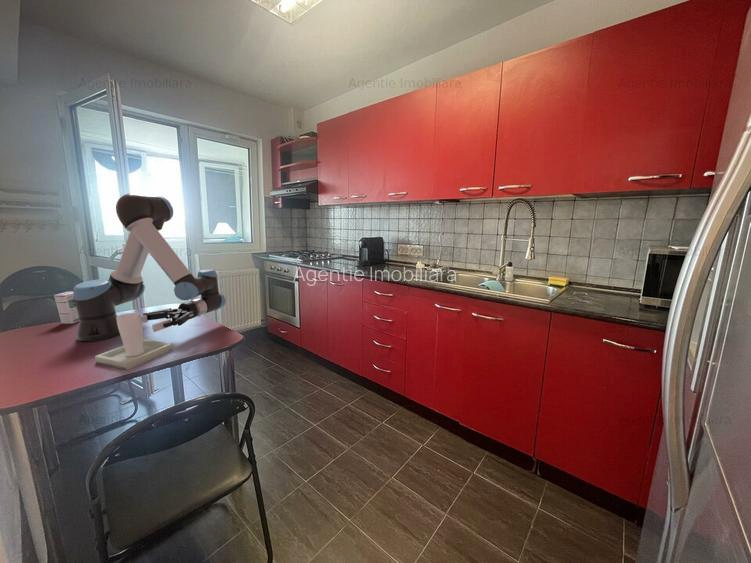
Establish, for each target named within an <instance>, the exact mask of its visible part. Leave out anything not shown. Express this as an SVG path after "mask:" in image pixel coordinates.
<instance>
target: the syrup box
mask: <svg viewBox="0 0 751 563" xmlns="http://www.w3.org/2000/svg"><path fill="white" fill-rule="evenodd" d="M73 295H74V294H73V291H65V292H62V293H58V294H54V301H55V304H56V307H57V310H58V315H59V318H60V322H61V324H62V325H63V324H65V325H66V324H67V325H69V324H70V325H71V324H75V323H79V322H80V321H79V316H78V312H77V308H76V304H75V300H74V298H73Z"/></svg>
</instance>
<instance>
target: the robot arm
mask: <svg viewBox="0 0 751 563" xmlns="http://www.w3.org/2000/svg"><path fill="white" fill-rule="evenodd" d="M118 198H119V199H118V200H117V201H116V205H115V212H116V215H117V217H118V220H119V221H120V224H122V226H123V227H124V228H125V229H126V231H127V232H129V234H128V236H127V237H128V238H127V240H126V242H125V246H124V248H123V251H122V253H121V256H120V260H119V263H118V265H117V269H114V270H113V271H111V272H110V275H109V278H108V279H104V278H101V279H100V278H98V279H92V280H86V281H83V282H80V283H78V284H76V285H75V286H74V287H73V288H72V292H73V294H74V295H73V298H74V300H75V304H76V308H77V312H78V316H79V321H78V327H77V332H76V337H77V338H76V339H77V341H79V342H82V341H87V342H96V341H102V340H106V339H110V338H114V337H116V336H118V335H119V336H120V333H119V330H118V326H117V320H116V317H117V316H118V315H117V313H116V306H120V305H123V304H125V303H129V302H132V301H135V300H136V299H139V298H140V297H141V296H142V295H143V294H144V292H145V289H146V287H145V284H144V280H143V277H142V276H141V274H142V271H143V269H144V266H145V263H146V260H147V258H148V255H149V254H150V256H151V257H152V259H153V260H154V261H155V262H156V263H157V265H158V266H159V267H160V269H161V270H162V272H164V273H165V275H166V276H167V277H168V278H169V280H170V281H171V282H172V284H173V285H174V288H173V292H174V295H175V297H176V298H177V299H179V300H181V301H186V302H182V303H180V304H179V306H178V307H177V308H173V309H172V307H171V308H170V307H169V308H165V309H161V310H154V311H151V312H150V311H149V312H144V313H143V314H142V315H140V316H141V320H142V324H145V323H148V322H149V321H153V320H154V321H155V320H162V319H166V320H162V321H160V322H157V323H154V324H152V332H153V333H156V332H159V331H161V330H164V329H167V328H170V327H173V326H175V327H176V326H179V327H180V326H182V325H184V324H185V323H186V322H188V321H189V320H191V319H195V318H197V317H201V316H202V315H205V314H208V313H211V312H214V311H217V310H219V309H222V308H223V307H225V305H226V303H227V299H226V297H225V295H224V294H223V293H222V292H219V283H218V275H217V271H216V270H215V269H210V268H209V269H201V270H199V271H197V276H196V277H195V276H194V275H193V274H192V273H191V271H190V270H189V269H188V268H187V266H186V265H185V263H184V262H183V261H182V260H181V259H180V257H179V256H178V254H177V253H176V252H175V251H174V249H173V248H172V247H171V245H170V244H169V243H168V242H167V241H166V239H165V237H164V236H163V235H162V234H161V233H160V231H161V230H162V229H163V227H164V224H165V223H166V222H169V221H171V220H172V218H173V216H174V209H173V206H172V203H171V202H170V201H169V200H168V198H166V197H164V196H162V195H158V194H157V195H156V194H145V193H144V194H143V193H135V192H133V193H132V192H130V193H126V194H124V195H121V197H118ZM198 296H200V297H199V298H197V297H198Z"/></svg>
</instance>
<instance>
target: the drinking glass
mask: <svg viewBox="0 0 751 563" xmlns="http://www.w3.org/2000/svg"><path fill="white" fill-rule="evenodd" d="M141 316H142V315H141V314H140V312H128V313H124V314H120V315H117V317H116V320H117V326H118V330H119V333H120V334H119V336H120V338H121V341H122V346H124V348H125V352H126V355H127V356H129V357H133V356H138V355H140V354H142V353H144V351H145V350H144V342H143V339H144V330H143V323H142V320H141Z"/></svg>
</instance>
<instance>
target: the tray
mask: <svg viewBox="0 0 751 563" xmlns="http://www.w3.org/2000/svg"><path fill="white" fill-rule="evenodd" d="M143 342H144V350H145V351H144V353H142V354H140V355H138V356H133V357H129V356H127V355H126V352H125V348H124V345H121V346H118V347H116V348H113V349H111V350H108V351H105V352H103V353H100V354H97V355H95V356H94V359H95V362H97V364H100V363H101V365H104V364H105V365H104V366H108V365H109V367H112V368H117V369H122V370H125V371H129V370H131V369H134V368H135V367H138V366H140V365H143V364H145V363H147V362H149V361H151V360H154V359H155V358H158V357H160V356H162V355H164V354H167V353H169V352H172V351H173V343H168V342H163V341H159V340H158V341H157V340H152V339H149V338H148V339H147V338H143Z"/></svg>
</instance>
